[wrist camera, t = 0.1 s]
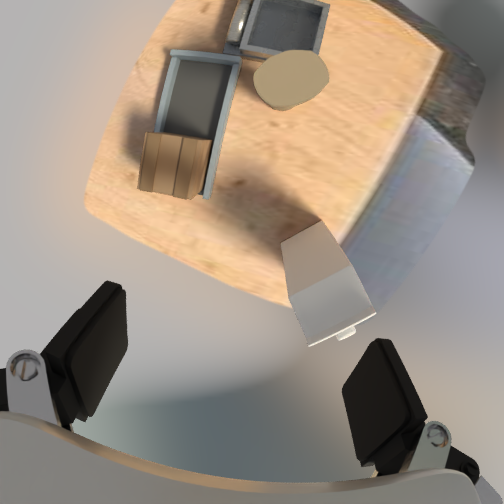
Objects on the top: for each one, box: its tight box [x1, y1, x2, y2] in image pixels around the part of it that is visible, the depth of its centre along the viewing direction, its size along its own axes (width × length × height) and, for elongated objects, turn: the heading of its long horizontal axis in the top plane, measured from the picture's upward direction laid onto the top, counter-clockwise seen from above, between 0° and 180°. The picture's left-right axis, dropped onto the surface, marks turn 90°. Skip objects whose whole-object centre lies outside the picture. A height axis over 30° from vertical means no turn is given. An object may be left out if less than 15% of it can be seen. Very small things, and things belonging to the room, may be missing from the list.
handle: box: [253, 50, 329, 111], centre depth 26 cm, size 5×6×15 cm
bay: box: [154, 49, 242, 199], centre depth 33 cm, size 20×9×3 cm, turn 167°
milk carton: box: [281, 221, 376, 347], centre depth 33 cm, size 7×7×19 cm
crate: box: [137, 132, 213, 200], centre depth 33 cm, size 7×7×7 cm
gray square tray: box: [223, 0, 330, 63], centre depth 27 cm, size 11×12×4 cm
